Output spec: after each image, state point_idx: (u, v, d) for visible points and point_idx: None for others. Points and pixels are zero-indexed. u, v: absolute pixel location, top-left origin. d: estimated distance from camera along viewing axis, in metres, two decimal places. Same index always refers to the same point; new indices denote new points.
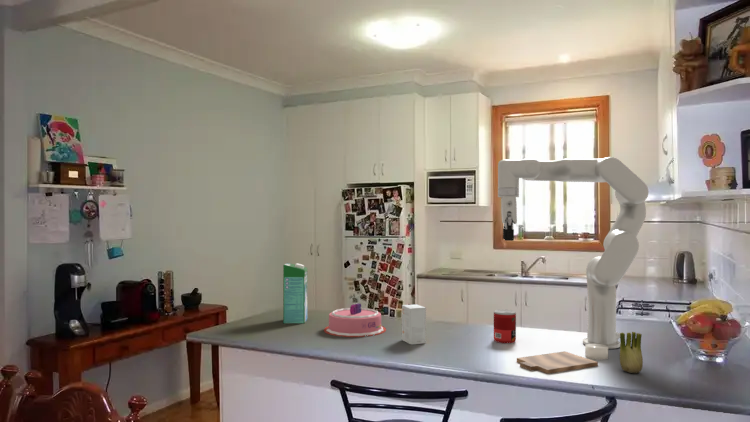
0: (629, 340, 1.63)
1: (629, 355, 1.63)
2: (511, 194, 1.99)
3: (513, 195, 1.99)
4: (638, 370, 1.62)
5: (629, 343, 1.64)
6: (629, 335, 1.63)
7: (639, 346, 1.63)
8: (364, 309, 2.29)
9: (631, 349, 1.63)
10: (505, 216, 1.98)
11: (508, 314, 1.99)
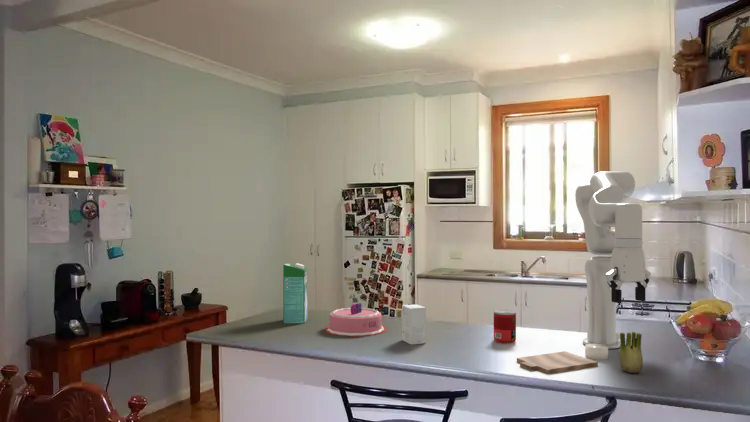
0: (629, 340, 1.63)
1: (629, 355, 1.63)
2: None
3: None
4: (638, 370, 1.62)
5: (629, 343, 1.64)
6: (629, 335, 1.63)
7: (639, 346, 1.63)
8: (364, 309, 2.29)
9: (631, 349, 1.63)
10: None
11: (508, 314, 1.99)
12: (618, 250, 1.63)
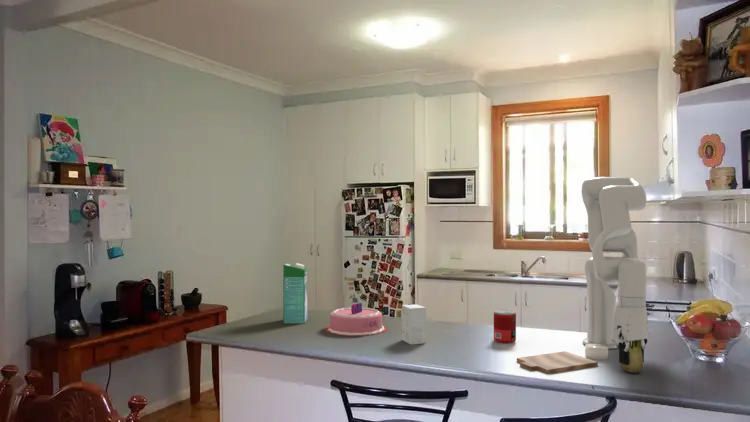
0: None
1: (629, 354, 1.63)
2: None
3: None
4: (638, 370, 1.62)
5: (629, 343, 1.64)
6: None
7: (639, 346, 1.63)
8: (365, 308, 2.30)
9: (631, 349, 1.63)
10: None
11: (508, 314, 1.99)
12: (621, 309, 1.62)
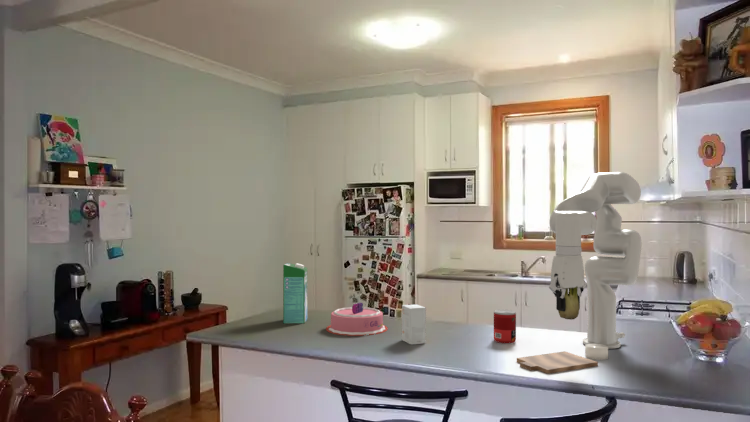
0: None
1: (566, 302, 1.70)
2: None
3: None
4: (574, 316, 1.69)
5: (566, 291, 1.71)
6: None
7: (575, 293, 1.70)
8: (365, 308, 2.31)
9: (568, 296, 1.70)
10: None
11: (508, 314, 1.99)
12: (558, 257, 1.69)
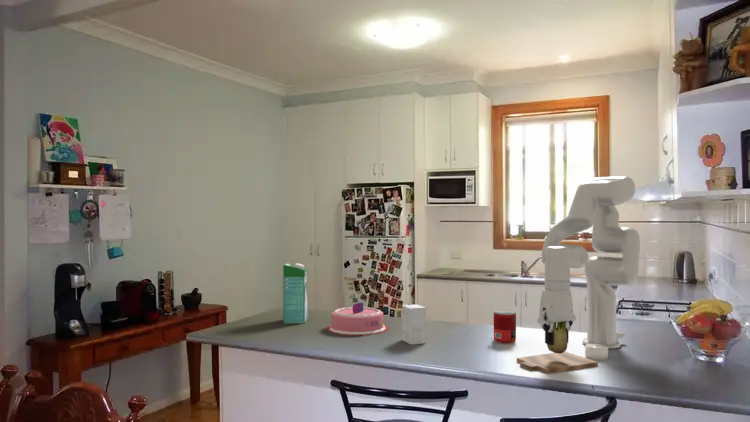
0: None
1: (554, 335, 1.71)
2: None
3: None
4: (562, 350, 1.71)
5: (555, 324, 1.72)
6: None
7: (564, 327, 1.72)
8: (366, 308, 2.31)
9: (556, 330, 1.72)
10: None
11: (508, 314, 1.99)
12: (546, 291, 1.71)
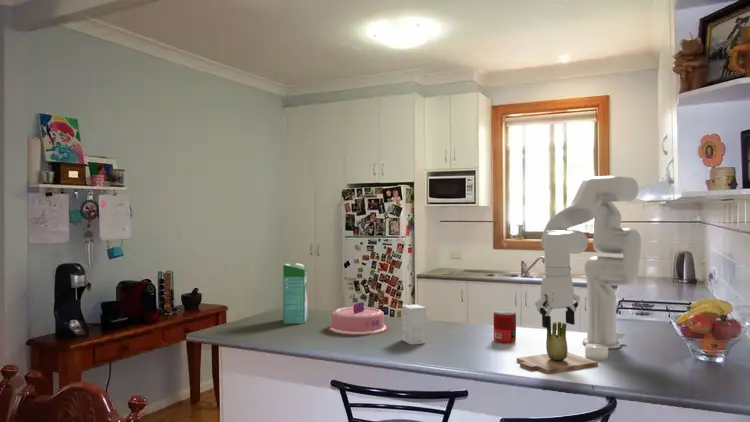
0: (554, 329, 1.72)
1: (554, 343, 1.72)
2: None
3: None
4: (562, 358, 1.71)
5: (554, 332, 1.72)
6: (554, 324, 1.72)
7: (564, 335, 1.72)
8: (366, 308, 2.32)
9: (556, 338, 1.72)
10: None
11: (508, 314, 1.99)
12: (547, 278, 1.71)
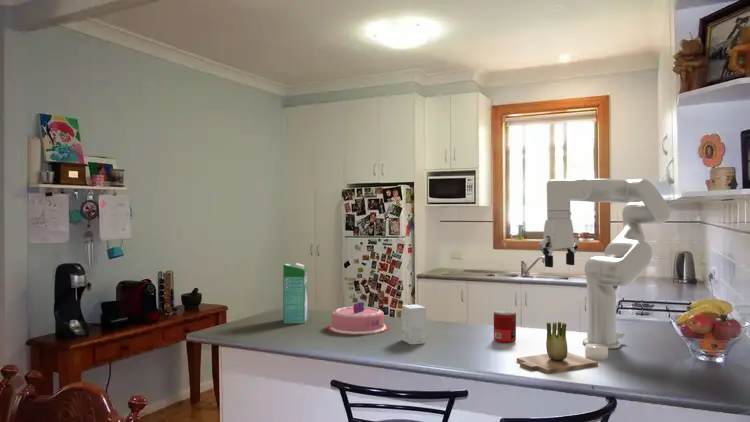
0: (554, 329, 1.72)
1: (554, 343, 1.72)
2: None
3: None
4: (562, 358, 1.71)
5: (554, 332, 1.72)
6: (554, 324, 1.72)
7: (564, 335, 1.72)
8: (366, 308, 2.32)
9: (556, 338, 1.72)
10: None
11: (508, 314, 1.99)
12: (549, 221, 1.85)
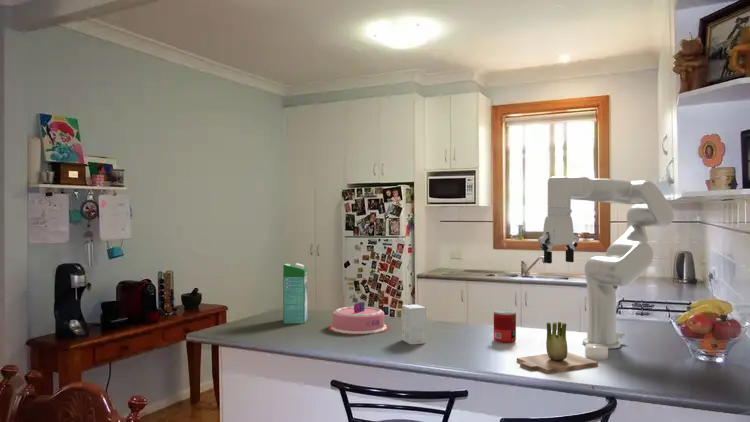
0: (554, 329, 1.72)
1: (554, 343, 1.72)
2: None
3: None
4: (562, 358, 1.71)
5: (554, 332, 1.72)
6: (554, 324, 1.72)
7: (564, 335, 1.72)
8: (367, 307, 2.33)
9: (556, 338, 1.72)
10: None
11: (508, 314, 1.99)
12: (549, 217, 1.87)
